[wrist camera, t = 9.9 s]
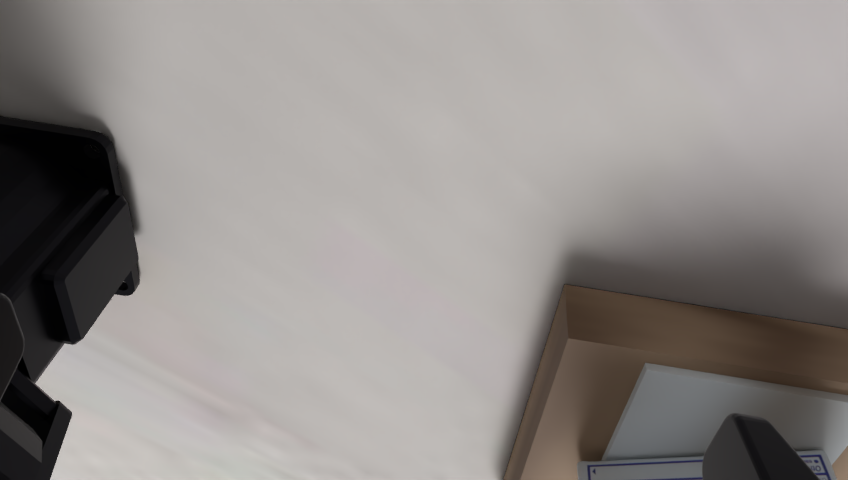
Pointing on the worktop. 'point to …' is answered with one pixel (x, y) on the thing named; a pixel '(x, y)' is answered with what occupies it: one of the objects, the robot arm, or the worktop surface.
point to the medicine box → (679, 468)
